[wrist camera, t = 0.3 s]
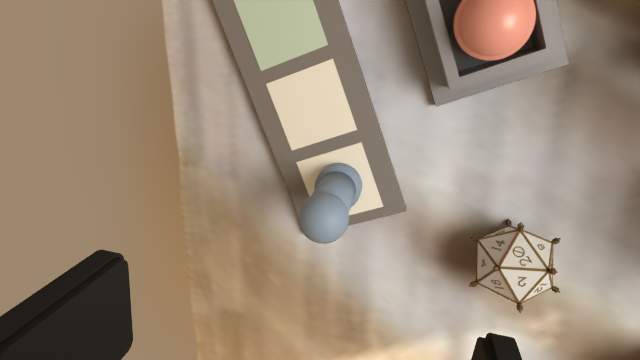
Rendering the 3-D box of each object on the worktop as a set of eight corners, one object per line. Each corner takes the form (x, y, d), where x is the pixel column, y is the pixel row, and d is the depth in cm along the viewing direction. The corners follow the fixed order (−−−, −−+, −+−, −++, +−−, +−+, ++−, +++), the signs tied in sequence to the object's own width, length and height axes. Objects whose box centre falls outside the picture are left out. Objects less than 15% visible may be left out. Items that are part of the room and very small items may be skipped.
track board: (213, -6, 43) (209, -6, 42) (320, -56, 39) (317, -58, 38) (308, 232, 50) (306, 236, 49) (406, 207, 46) (406, 211, 45)
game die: (481, 227, 49) (440, 231, 42) (557, 207, 43) (526, 209, 36) (504, 304, 47) (465, 323, 40) (588, 294, 41) (561, 314, 34)
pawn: (311, 169, 46) (281, 209, 35) (353, 157, 44) (335, 194, 34) (326, 210, 47) (302, 260, 37) (368, 199, 46) (355, 247, 35)
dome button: (443, 1, 36) (448, -5, 31) (515, -28, 35) (533, -38, 29) (460, 67, 38) (468, 72, 33) (531, 43, 36) (551, 45, 31)
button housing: (400, -17, 39) (399, -24, 34) (537, -74, 35) (556, -90, 31) (435, 104, 42) (438, 113, 37) (565, 63, 38) (586, 67, 34)
